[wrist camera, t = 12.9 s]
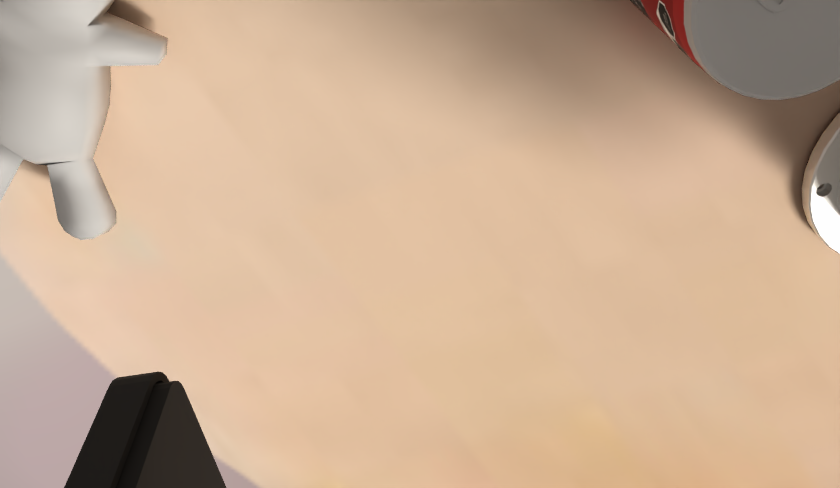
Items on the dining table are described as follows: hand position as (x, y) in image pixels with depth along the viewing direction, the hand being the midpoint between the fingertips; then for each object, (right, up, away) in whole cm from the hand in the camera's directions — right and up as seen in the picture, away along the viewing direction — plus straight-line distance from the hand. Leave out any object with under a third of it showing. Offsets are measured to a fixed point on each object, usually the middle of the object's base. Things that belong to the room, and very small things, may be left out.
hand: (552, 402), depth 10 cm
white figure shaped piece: (-19, +11, +28) cm, 36 cm away
